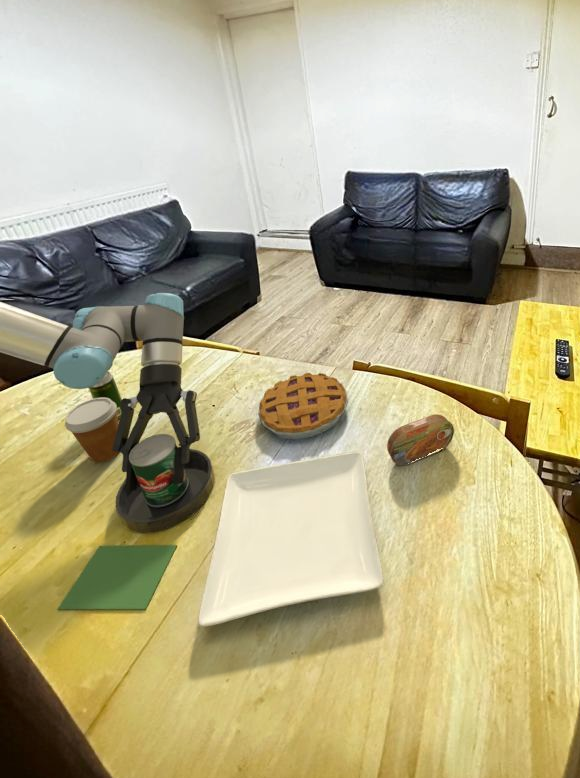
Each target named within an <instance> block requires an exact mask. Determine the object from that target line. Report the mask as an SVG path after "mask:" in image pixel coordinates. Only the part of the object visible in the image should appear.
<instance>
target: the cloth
mask: <svg viewBox="0 0 580 778" xmlns="http://www.w3.org/2000/svg"><path fill="white" fill-rule="evenodd" d="M177 547H178V545H177V544H153V545H152V544H150V545H147V544H145V545H143V544H142V545H137V544H136V545H134V544H133V545H98V547H97V549H96V550H95V552H94V553H93V555H92V556H91V558H90V559H89V561H88V562H87V564H86V565H85V566H84V568H83V570H82V571H81V573H79V576H78V577H77V578H76V580H75V581H74V582H73V584H72V586H71V588H70V589H69V591H68V593H67V594H66V595H65V597H64V598H63V600H62V601H61V602H60V604H59V606H58V607H57V610H58V611H147V609H148V607H149V605H150V602H151V600H152V598H153V596H154V594H155V592H156V590H157V588H158V587H159V584H160V582H161V580H162V578H163V576H164V574H165V572H166V570H167V568H168V565H169V563H170V561H171V559H172V557H173V555H174V553H175V551H176V550H177Z"/></svg>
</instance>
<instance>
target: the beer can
mask: <svg viewBox="0 0 580 778" xmlns="http://www.w3.org/2000/svg"><path fill="white" fill-rule="evenodd" d="M88 392H89V393H90V396H91V399H94V398H101V397H105V398H109V399H111V400H112V401H113V402H115V403H116V405H117V409H116V415H117V419H118V420H120V416H121V412H122V406H121V400H122V399H123V398H122V396H121V394H120V391H119V388H118V386H117V383H116V380H115V378H114V376H113V374H112V373H111V372H110V370H108V371H107V373H106V375H105V376H104V377H103V379H102V380H101V381H100V382H99V383H97V384H96V385H94V386H92V387H89V388H88Z"/></svg>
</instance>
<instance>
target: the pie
mask: <svg viewBox="0 0 580 778" xmlns="http://www.w3.org/2000/svg"><path fill="white" fill-rule="evenodd" d="M348 403H349V399H348V393H347V390H346V388H345V387H344V385H343V383H341V382H340V381H339V380H338V379H337V378H336V377H334V376H333V377H331V376H328V375H327V374H325V373H322V372H319V373H318V374H312V373H311V372H305V373H304V374H303V375H299V376H297V375H296V374H295V375H291V376H290V377H289V378H288V379H286V380H284V381H283V380H280V381H278V382H276V383H274V386H273V387H272V388H267V390H266V391H265V392H264V395H263V397H262V398H261V400H260V401H259V406H258V413H257V415H258V417H259V420H260V421H261V424H262V426H263V427H264V428H266V429H268V430H269V431H271V432H272V433H273V434H275V435H276V436H278V437H279V438H280V439H285V440H286V439H287V440H300V439H301V440H302V439H305V438H313V437H315V436H317V435H320V434H322V433H324V432H326V431H329V430H330V429H331V428H332V427H334V426H335V425H336V424H337V423H339V422H340V419H341V416H342V415H344V413H345V410H346V408H347V405H348Z"/></svg>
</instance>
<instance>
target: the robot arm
mask: <svg viewBox="0 0 580 778" xmlns="http://www.w3.org/2000/svg"><path fill="white" fill-rule="evenodd" d="M184 321H185V316H184V300H183V299H182V297H180V296H179V295H177V294H174V293H170V292H169V293H168V292H156V293H155V294H154V293H152V294H149V295H148V296H146V298H145V301H144V303H143V304H139V305H119V306H118V305H117V306H115V305H114V306H103V305H99V306H93V307H91V306H90V307H83V308H81V309H79V310H77V312H76V313H75V315H74V319H73V320H72V326H69V325H67V324H64V323H61V322H59V321H55V320H53V319H49V318H47V317H44V316H42V315H40V314H39V315H38V314H36V313H33V312H30V311H27V310H25V309H22V308H19V307H16V306H13V305H10V304H8V303H5V302H2V301H0V354H1V353H2V354H5V355H9V356H11V357H15V358H18V359H20V360H24V361H27V362H31V363H34V364H36V365H37V364H38V365H40V366H43V367H47V368H51V369H52V370H53V375H54V378H55V379H56V380H57V381H58V382H59V383H60V384H62V385H63V386H64V387H66V388H69V389H72V390H73V389H74V390H85V389H89V387H92V386H94V385H96V384H97V383H99V382H100V381H101V380H102V379H103V377H104V376H105V375H106V373H107V371H110V370H111V369H112V367H113V363H114V360H115V359H116V358H117V355H118V353H119V351H120V350H121V348H122V347H123V345H124V343H130V342H131V343H132V342H140V341H141V342H142V344H141V345H142V347H141V358H140V366H141V367H142V368H140V371H139V391H138V392H137V394H136V396H133V397H130V398H127V397H124V398H122V400H121V406H122V412H121V416H120V419H118V428H117V432H116V436H115V440H114V444H113V448H112V450H113V451H114V452H120V453H119V454H122V465H121V471H122V473H126V474H125V480H126V486H125V492H126V491H132V490H136V488H137V477H136V475H135V472H134V470H133V467H132V464H131V462H130V460H129V455H130V452H131V450H132V449H133V448H134V447H135V446H136V445H137V444H138V443H139V442H141V439H142V437H143V434H144V432H145V430H146V428H147V426H148V424H149V422H150V420H151V419H152V418H153V416H154V415H158V414H160V413H165V414H166V415H167V417H168V419H169V421H170V423H171V426H172V428H173V431H174V434H175V436H176V438H177V442H178V446H177V447H175V469H174V484H180V483H184V464H186V463H188V462H189V452H190V449H191V448H190V447H191V445H192V444H194V443H196V442H199V441H200V440H201V435H200V434H201V433H200V427H199V419H198V413H197V406H196V401H197V396H198V393H197V391H194V390H192V389H190V390H183V389H182V387H181V386H182V372H183V371H182V367H181V366H180V365H182V364H183V340H184V338H183V337H184ZM181 399H182V401H183V402H184V407H185V416H186V424H187V429H186V427H185V425H184V423H183V420H182V418H181V416H180V410H179V408H178V406H177V404H178V402H179V401H180V400H181ZM137 404H139V405H140V406H141V408H140V409H139V412H138V414H137V419H136V421H135V423H134V425H133V427H132V423H133V419H134V414H135V409H136V408H137ZM131 427H132V428H131ZM187 431H188V432H187Z"/></svg>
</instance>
